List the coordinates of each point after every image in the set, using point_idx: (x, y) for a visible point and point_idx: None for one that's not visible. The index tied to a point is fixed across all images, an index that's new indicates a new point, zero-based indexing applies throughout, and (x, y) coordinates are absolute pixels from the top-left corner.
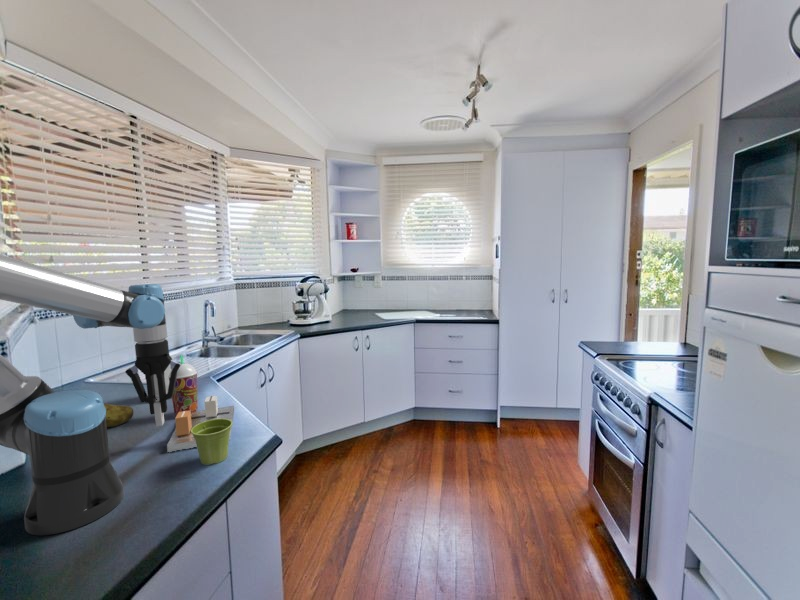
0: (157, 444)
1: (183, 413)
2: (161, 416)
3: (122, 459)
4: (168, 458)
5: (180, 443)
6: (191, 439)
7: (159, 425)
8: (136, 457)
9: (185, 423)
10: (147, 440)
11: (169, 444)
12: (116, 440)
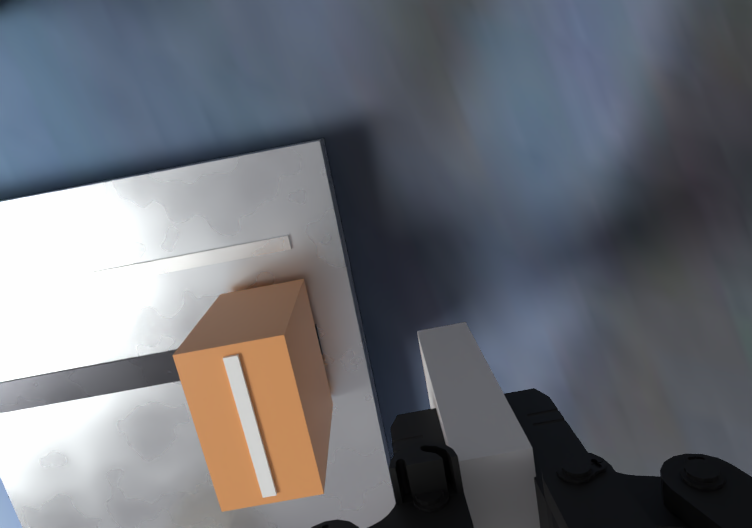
0: (450, 292)
1: (249, 438)
2: (427, 373)
3: (599, 111)
4: (279, 41)
5: (229, 159)
6: (167, 205)
7: (439, 329)
8: (515, 119)
9: (214, 324)
10: (542, 370)
11: (307, 155)
12: (743, 415)
